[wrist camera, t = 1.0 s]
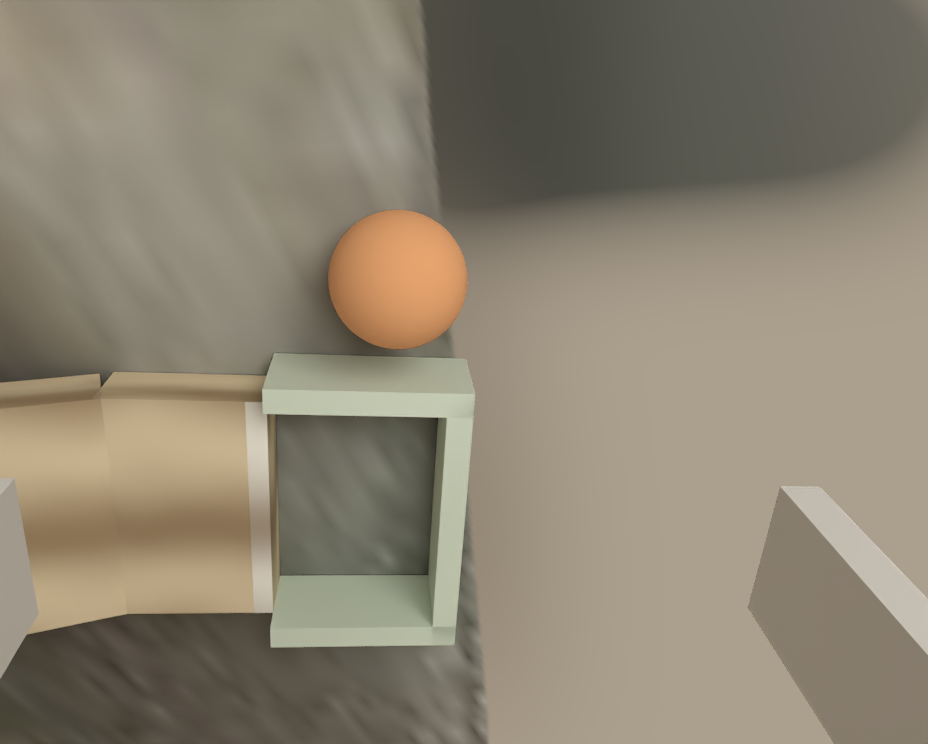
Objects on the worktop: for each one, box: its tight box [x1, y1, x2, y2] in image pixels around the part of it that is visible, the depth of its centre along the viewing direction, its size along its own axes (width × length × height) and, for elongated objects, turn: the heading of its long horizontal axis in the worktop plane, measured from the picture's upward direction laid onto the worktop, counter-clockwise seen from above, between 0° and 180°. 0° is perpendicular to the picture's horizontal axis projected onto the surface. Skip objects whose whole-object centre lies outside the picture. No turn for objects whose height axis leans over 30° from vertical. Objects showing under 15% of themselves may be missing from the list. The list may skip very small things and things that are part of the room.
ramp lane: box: [0, 372, 280, 635], centre depth 31 cm, size 10×14×5 cm
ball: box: [328, 210, 467, 349], centre depth 28 cm, size 5×5×5 cm
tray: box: [262, 353, 475, 647], centre depth 33 cm, size 12×8×4 cm, turn 176°
